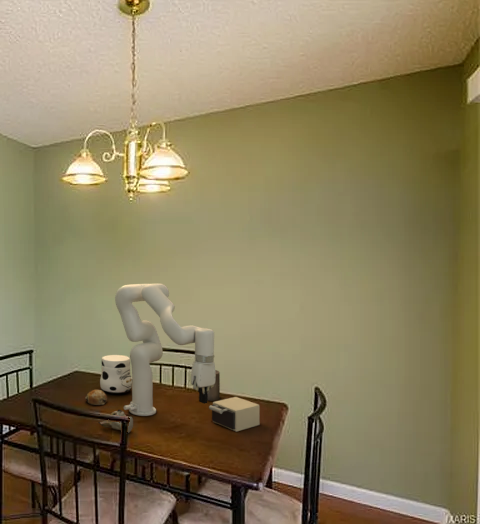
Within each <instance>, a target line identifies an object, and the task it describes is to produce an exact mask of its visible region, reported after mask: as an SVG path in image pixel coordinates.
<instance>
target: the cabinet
mask: <svg viewBox="0 0 480 524" xmlns="http://www.w3.org/2000/svg"><path fill="white" fill-rule="evenodd" d="M212 405H218V406H220V407H222V408H225V409H228V410H230V411H233V412H235V429H231V428H228V427H226V426H224V425H221V424H219V423H217V422H214V421H212V422H213V423H215V424H218V425H220V426H222V427H224V428H226V429H229V430H231V431H234V432H236V433H237V432H239V431H243V430H247V429H250V428H254V427H257V426H260V422H261V421H260V417H261V416H260V414H261V413H260V404H259V403H255V402H251V401H249V400H247V399H243V398H241V397H238V396H233V397H229V398H224V399H219V400H216V401H212Z"/></svg>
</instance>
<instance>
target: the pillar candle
mask: <svg viewBox="0 0 480 524" xmlns="http://www.w3.org/2000/svg"><path fill="white" fill-rule="evenodd" d="M215 374H216V379H215V384H214V386H213V387H212V388H210V390H209V393H207V394H208V401H210V402H216V401H220V400H221V398H220V397H221V395H220V394H221V393H220V392H221V391H220V390H221V383H220V381H221V379H220V378H221V377H220V374H221V372H220V371H219V370H217V369H215Z"/></svg>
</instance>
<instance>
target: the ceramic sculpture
mask: <svg viewBox="0 0 480 524" xmlns="http://www.w3.org/2000/svg"><path fill="white" fill-rule="evenodd" d="M109 415H119V416H126V414H125V412H124V411H123V410H121V409H118V410H115V411H112V412H111V413H110V414H109ZM128 417H129V418H130V422H129V426H128V433H127V434H130V432H131V431H133V429H134V418H133V417H132V416H128ZM98 424H99V425H100V426H102V427H103V428H106V429H112V430H116V431H121V423H119V422H111V421H108V420H104V421H98Z"/></svg>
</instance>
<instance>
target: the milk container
mask: <svg viewBox="0 0 480 524" xmlns="http://www.w3.org/2000/svg"><path fill="white" fill-rule="evenodd" d="M99 385H100V390H102V391H103V392H104V393H109V394H114V395H116V394H117V395H120V394H126V393H128V392H130V391H132V374H131V360H130V356H127V355H121V354H108V355H104V356H102V357H101V375H100V379H99Z"/></svg>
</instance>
